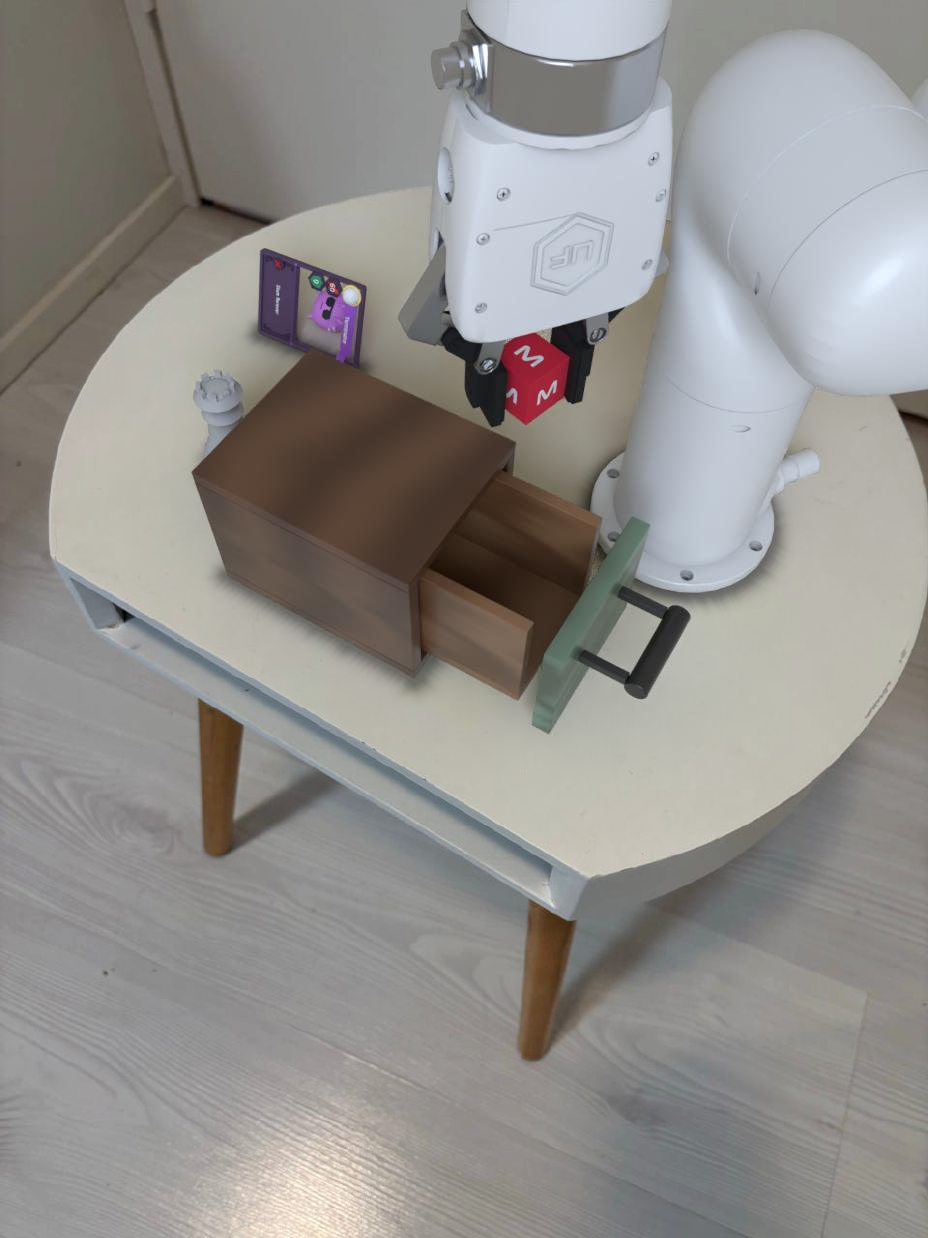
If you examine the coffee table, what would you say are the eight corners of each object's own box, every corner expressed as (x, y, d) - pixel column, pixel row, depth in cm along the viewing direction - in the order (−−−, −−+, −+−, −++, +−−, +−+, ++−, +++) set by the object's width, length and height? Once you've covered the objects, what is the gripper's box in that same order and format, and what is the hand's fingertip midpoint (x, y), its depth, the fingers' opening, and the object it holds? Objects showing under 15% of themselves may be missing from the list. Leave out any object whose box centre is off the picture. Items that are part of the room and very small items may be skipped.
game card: (254, 250, 71) (359, 290, 69) (293, 233, 75) (394, 269, 73) (252, 335, 76) (350, 375, 74) (289, 314, 80) (384, 351, 78)
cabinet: (507, 547, 66) (516, 441, 57) (414, 678, 61) (408, 585, 52) (329, 460, 70) (311, 347, 61) (227, 576, 65) (190, 471, 55)
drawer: (687, 636, 62) (720, 556, 54) (613, 769, 57) (638, 702, 49) (447, 518, 66) (447, 429, 58) (360, 632, 61) (348, 551, 54)
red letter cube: (563, 397, 53) (570, 356, 50) (525, 425, 52) (530, 385, 49) (524, 368, 54) (528, 327, 51) (486, 395, 53) (488, 354, 50)
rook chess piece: (258, 493, 68) (236, 414, 61) (197, 482, 69) (169, 403, 62) (276, 446, 70) (258, 364, 64) (218, 436, 71) (194, 354, 64)
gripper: (390, 158, 34) (405, 490, 49) (799, 68, 37) (692, 404, 53) (324, 47, 37) (358, 389, 53) (704, -26, 41) (630, 315, 56)
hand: (525, 394), depth 53 cm, fingers closed on red letter cube, 4 cm apart
